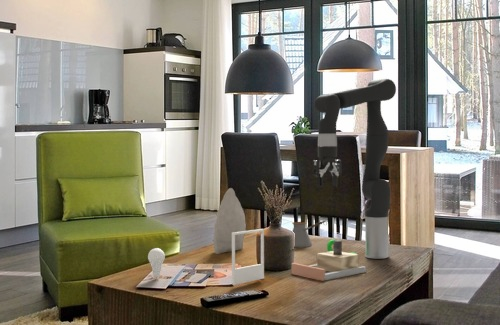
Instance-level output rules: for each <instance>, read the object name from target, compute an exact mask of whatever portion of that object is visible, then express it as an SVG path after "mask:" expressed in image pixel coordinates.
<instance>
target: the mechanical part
mask: <svg viewBox="0 0 500 325" xmlns="http://www.w3.org/2000/svg"><path fill="white" fill-rule="evenodd" d="M333 241H336V239H334V238H333V239H330V240H329V241H328V242H327V246H326V248H327V249H326V252H330V251H333V248H332V247H333ZM351 253H352V254H357V253H356V252H351Z"/></svg>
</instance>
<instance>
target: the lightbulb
mask: <svg viewBox="0 0 500 325" xmlns="http://www.w3.org/2000/svg"><path fill="white" fill-rule="evenodd" d="M165 258H166V254H165V252H164V250H162V249H161V248H159V247H155V248H152V249H151V250H149V252H148V255H147V259H148V262H149V264H150V267H151V270H152V277H153V278H155V277H156V278H155V279H158V278H160V277H161V271H162V265H163V263H164V261H165ZM157 277H158V278H157Z"/></svg>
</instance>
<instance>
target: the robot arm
mask: <svg viewBox="0 0 500 325" xmlns="http://www.w3.org/2000/svg"><path fill="white" fill-rule="evenodd" d="M396 86H397V85H396V83H395V82H394V81H393V80H392V79H389V78H379V79H378V78H377V79H372V80H370V81H369V82H368V84H367V85H366V86H362V87H355V88H350V89H345V90H340V91H338V92H333V93H327V94H321V95H319V96H317V97H316V99H315V100H314V102H313V104H314V109H315V110H316V111H317V112H318V113H322V114H324V117H323V118H321V119H319V121H318V135H317V136H318V137H317V157H318V160H315V159H313V160H312V176H314V177H316V186H317V187H318V188H322V187H324V183H323V182H324V179H323V177H324V174H326V172H329V173H330V174H331V176H332V177H331V179H332V180H331V185H332V187H338V184H339V176H340V175H341V176H342V175H343V174H342V173H343V169H342V168H343V166H342V160H341V159H336V158H337V156H338V137H337V122H338V118H339V115H340V110H341V109H347V108H350V107H354V106H355V107H356V106H358V105H361V104H365V103H366V116H367V117H366V136H365V138H366V139H365V157H364V159H365V161H364V172H363V178H362V183H361V191H362V195H363V196H364V198H365V199H367V200H370V206H369V208H366V210H365V213H364V214H365V217H364V218H365V219H364V220H365V229H364V230H365V236H364V237H365V240H364V241H365V251H364V252H365V255H364V257H366V258H368V259H387V258H388V257H390V234H389V233H388V232H389V230H388V229H389V228H388V224H389V222H388V220H389V216H388V213H389V211H390V206H391V188H390V184H389V182H388V181H387V180H386V179H382V178H380V172H381V165H382V163H383V161H384V159H385V157H386V154H387V151H388V150H389V149H388V148H389V129H388V126H387V125H386V122H385V120H384V117H383V116H382V106H381V105H382V102H383V101H384V102H385V101H389V100H391V99H393V98H394V97H395V95H396V94H397V93H396V92H397V87H396Z"/></svg>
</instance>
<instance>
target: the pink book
mask: <svg viewBox="0 0 500 325" xmlns="http://www.w3.org/2000/svg"><path fill="white" fill-rule="evenodd" d="M364 273H367V266H363V265H361V266H358V267H356V268H351V269H346V270H341V271H336V272H329V271H325V269H321V268H317V263H316V264H310V265H306V264H301V263H297V262H291V275H294V276H295V275H296V276H299V277H304V278H309V279H311V280H312V279H313V280H317V281H322V282H324V281H330V280H334V279H339V278H342V277H343V278H344V277H348V276H353V275H357V274H364Z"/></svg>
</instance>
